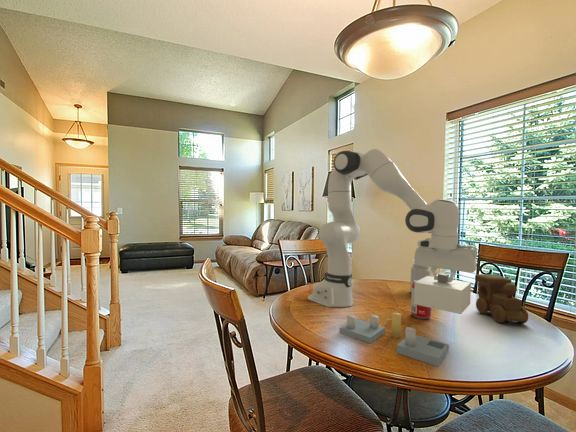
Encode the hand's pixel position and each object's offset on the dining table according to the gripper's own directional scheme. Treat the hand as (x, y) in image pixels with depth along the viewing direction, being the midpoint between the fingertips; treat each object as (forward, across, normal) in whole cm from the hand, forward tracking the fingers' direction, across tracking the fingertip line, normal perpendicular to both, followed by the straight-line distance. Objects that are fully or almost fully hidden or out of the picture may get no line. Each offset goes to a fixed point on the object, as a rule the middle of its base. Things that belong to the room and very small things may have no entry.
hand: (443, 280), depth 110 cm
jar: (+19, +23, -49) cm, 58 cm away
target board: (+19, 0, +21) cm, 29 cm away
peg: (+19, +11, +15) cm, 27 cm away
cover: (+9, 0, 0) cm, 9 cm away
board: (+19, +21, +21) cm, 35 cm away
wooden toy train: (+20, -14, -35) cm, 43 cm away
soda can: (+20, +11, -12) cm, 25 cm away
